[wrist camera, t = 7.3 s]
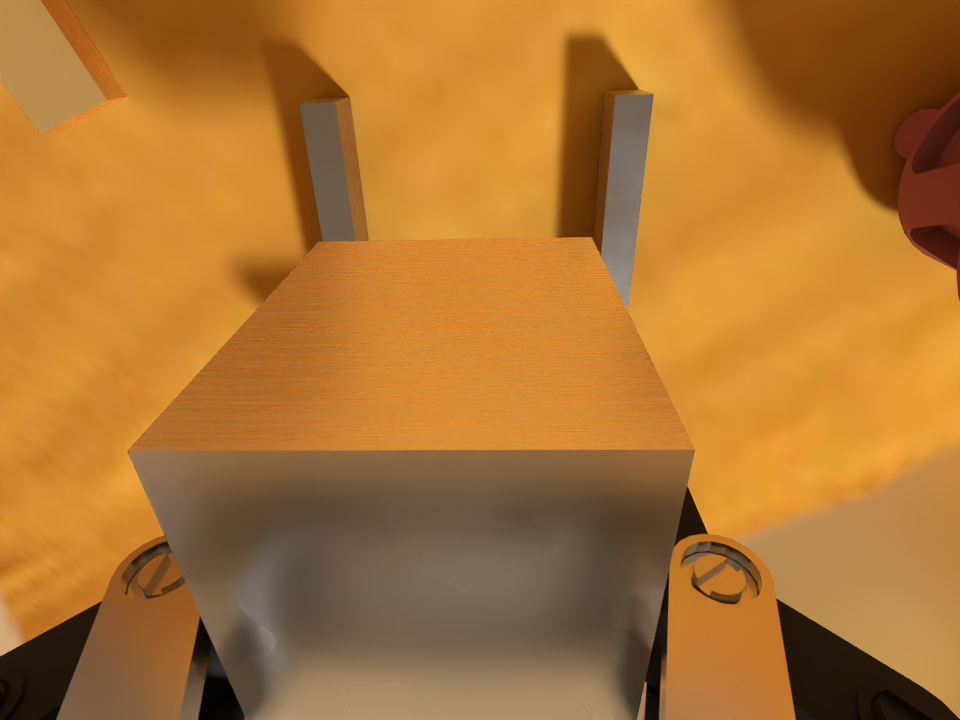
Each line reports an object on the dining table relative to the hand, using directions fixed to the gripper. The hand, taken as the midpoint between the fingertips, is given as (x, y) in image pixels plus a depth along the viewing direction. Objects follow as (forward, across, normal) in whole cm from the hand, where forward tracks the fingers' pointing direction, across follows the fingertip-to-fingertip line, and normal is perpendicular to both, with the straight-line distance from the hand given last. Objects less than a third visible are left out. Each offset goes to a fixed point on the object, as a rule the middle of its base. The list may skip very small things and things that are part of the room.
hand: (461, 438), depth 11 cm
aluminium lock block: (+1, 0, 0) cm, 1 cm away
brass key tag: (+12, +15, -8) cm, 21 cm away
